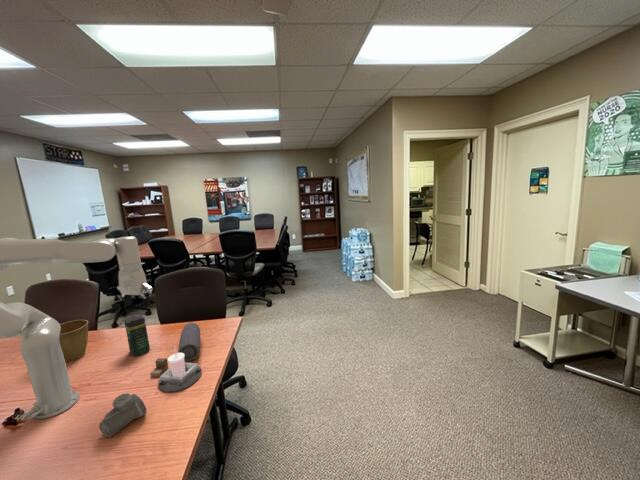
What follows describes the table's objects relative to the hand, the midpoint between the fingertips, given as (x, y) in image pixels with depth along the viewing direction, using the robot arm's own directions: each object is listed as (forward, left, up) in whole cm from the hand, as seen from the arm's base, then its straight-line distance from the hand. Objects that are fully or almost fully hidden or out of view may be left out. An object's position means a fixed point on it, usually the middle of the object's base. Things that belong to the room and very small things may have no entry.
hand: (137, 305), depth 117 cm
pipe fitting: (-26, -16, -31) cm, 43 cm away
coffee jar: (+12, +18, -31) cm, 37 cm away
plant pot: (+2, +47, -31) cm, 56 cm away
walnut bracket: (0, -6, -31) cm, 31 cm away
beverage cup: (-2, -18, -30) cm, 34 cm away
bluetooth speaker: (+17, -8, -31) cm, 36 cm away
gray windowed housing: (-2, -18, -30) cm, 35 cm away
